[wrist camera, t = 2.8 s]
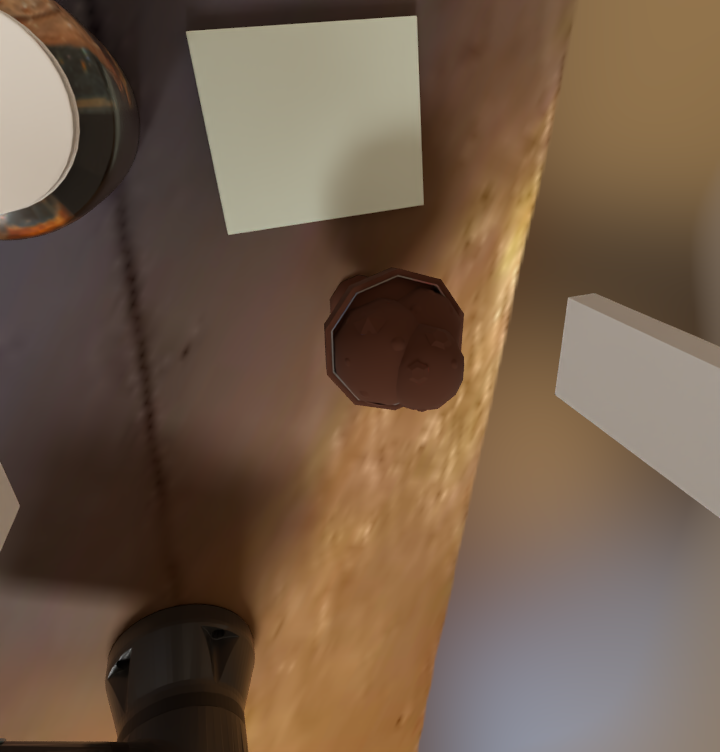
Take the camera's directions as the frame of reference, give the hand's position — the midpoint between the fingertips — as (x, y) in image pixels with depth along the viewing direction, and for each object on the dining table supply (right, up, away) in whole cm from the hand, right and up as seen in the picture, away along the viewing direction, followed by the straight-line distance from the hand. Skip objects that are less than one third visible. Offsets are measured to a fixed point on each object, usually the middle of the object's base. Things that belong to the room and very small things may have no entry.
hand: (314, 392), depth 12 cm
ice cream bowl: (+1, +7, +35) cm, 35 cm away
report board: (-2, +19, +27) cm, 33 cm away
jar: (-20, +18, +23) cm, 35 cm away
